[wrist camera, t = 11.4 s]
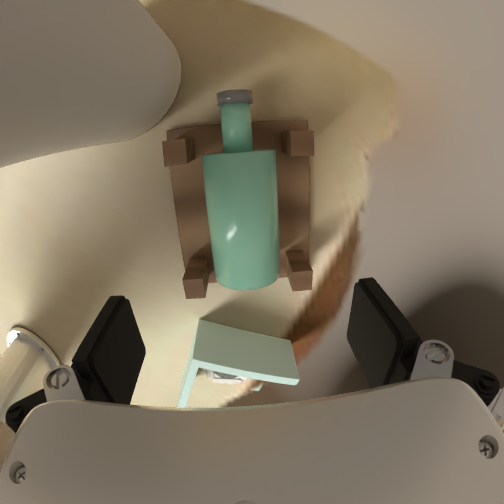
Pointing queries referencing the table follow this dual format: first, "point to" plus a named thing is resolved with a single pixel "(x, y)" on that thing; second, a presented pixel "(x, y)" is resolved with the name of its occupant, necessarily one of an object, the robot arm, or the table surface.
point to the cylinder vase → (80, 75)
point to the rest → (288, 185)
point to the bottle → (242, 200)
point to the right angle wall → (237, 358)
